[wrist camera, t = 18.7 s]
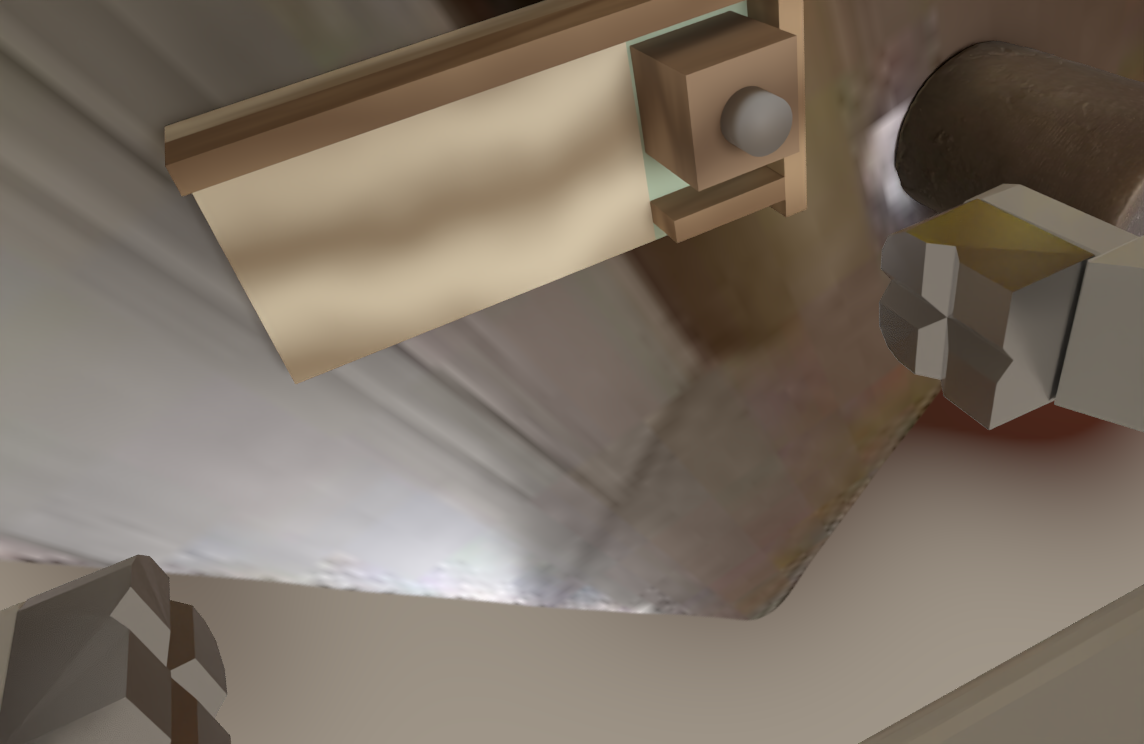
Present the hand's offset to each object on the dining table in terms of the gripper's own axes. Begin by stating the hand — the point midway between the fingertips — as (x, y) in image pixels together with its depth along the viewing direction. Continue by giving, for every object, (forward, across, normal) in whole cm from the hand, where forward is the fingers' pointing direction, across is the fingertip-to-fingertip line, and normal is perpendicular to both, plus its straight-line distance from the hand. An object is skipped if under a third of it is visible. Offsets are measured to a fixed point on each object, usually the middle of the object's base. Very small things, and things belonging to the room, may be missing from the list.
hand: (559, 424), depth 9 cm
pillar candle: (+29, -34, +18) cm, 48 cm away
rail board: (+29, -7, +10) cm, 32 cm away
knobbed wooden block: (+27, -16, +9) cm, 32 cm away
